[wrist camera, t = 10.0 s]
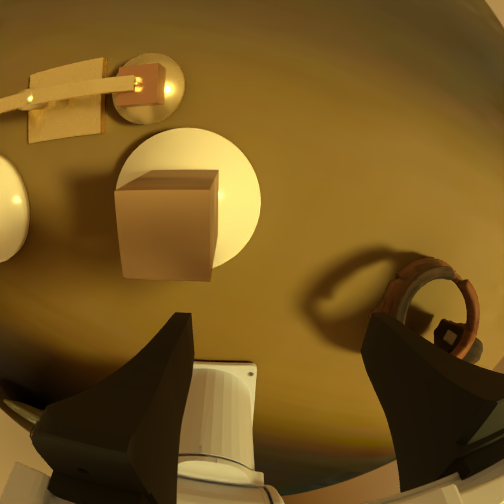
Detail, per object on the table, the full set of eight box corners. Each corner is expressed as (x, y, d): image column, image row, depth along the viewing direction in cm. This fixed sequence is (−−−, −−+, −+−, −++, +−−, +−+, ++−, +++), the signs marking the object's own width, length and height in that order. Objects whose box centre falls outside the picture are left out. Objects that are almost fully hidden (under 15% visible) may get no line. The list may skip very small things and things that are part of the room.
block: (217, 235, 19) (210, 281, 13) (154, 233, 19) (123, 278, 13) (218, 169, 17) (209, 189, 12) (151, 170, 17) (114, 190, 12)
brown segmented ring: (333, 349, 25) (361, 372, 17) (370, 247, 26) (410, 228, 18) (438, 382, 24) (487, 405, 16) (468, 291, 25) (523, 288, 17)
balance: (186, 127, 17) (161, 128, 11) (-12, 152, 16) (-67, 167, 11) (189, 50, 15) (167, 17, 10) (-12, 92, 14) (-67, 94, 9)
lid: (84, 408, 27) (70, 442, 22) (82, 444, 30) (72, 472, 26) (7, 368, 25) (-12, 396, 20) (16, 411, 28) (3, 436, 24)
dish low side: (256, 266, 21) (256, 273, 20) (126, 263, 20) (122, 269, 20) (263, 129, 18) (264, 129, 17) (118, 131, 17) (112, 131, 16)
